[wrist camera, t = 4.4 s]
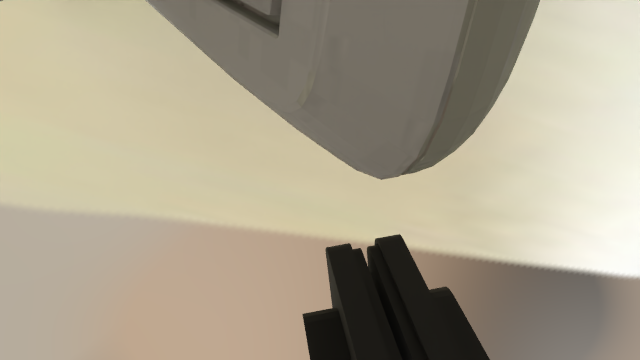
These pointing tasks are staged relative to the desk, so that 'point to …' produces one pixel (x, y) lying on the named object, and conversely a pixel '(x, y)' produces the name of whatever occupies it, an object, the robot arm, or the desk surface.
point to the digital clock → (366, 68)
